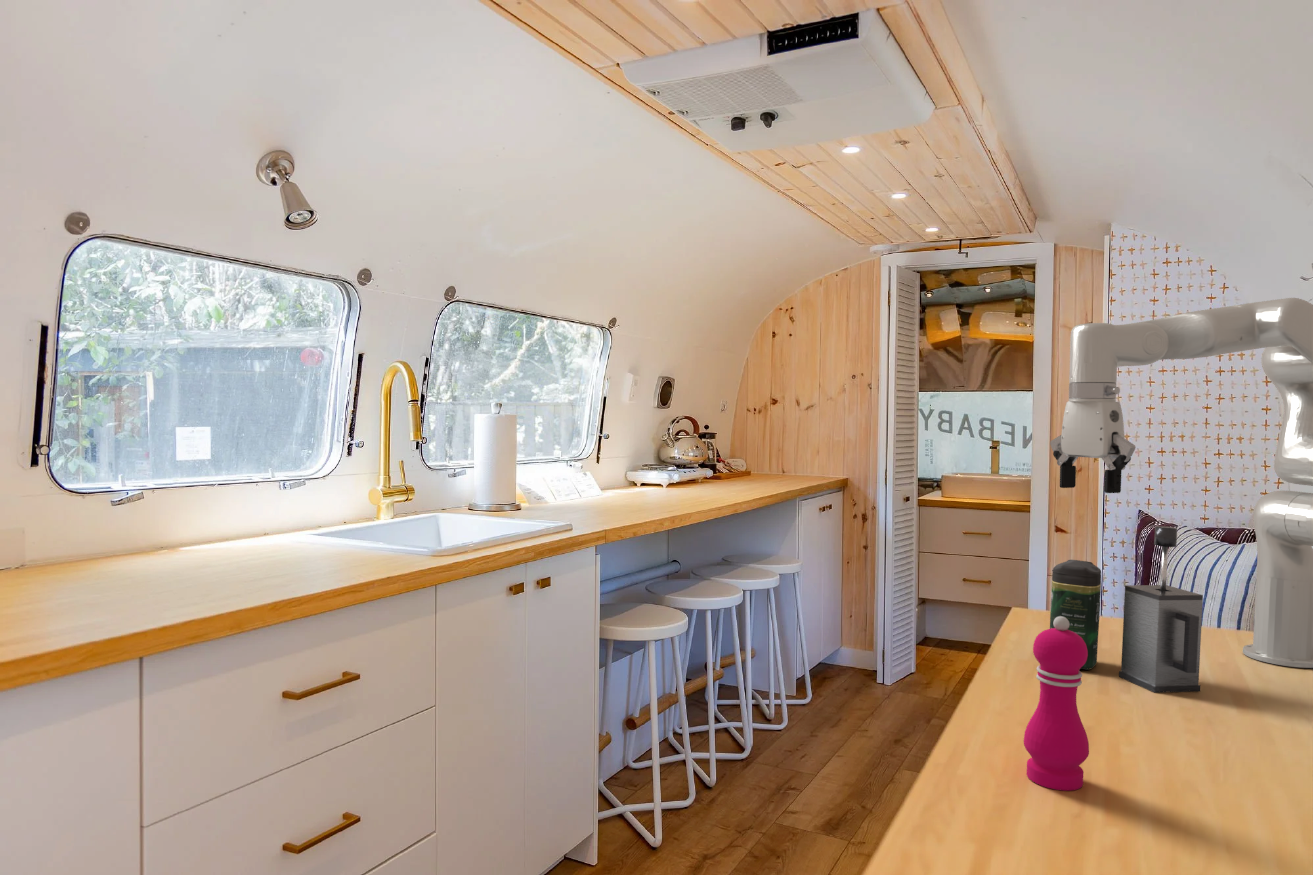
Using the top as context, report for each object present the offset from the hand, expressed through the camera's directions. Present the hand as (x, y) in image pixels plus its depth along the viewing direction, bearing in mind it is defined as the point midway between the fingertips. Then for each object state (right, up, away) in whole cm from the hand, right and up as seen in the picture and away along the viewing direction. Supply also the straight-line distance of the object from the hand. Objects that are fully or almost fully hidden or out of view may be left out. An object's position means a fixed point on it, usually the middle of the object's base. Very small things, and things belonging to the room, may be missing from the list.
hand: (1089, 490), depth 156 cm
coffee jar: (-2, -32, +2) cm, 32 cm away
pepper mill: (-29, -32, -49) cm, 66 cm away
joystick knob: (+8, -19, -9) cm, 23 cm away
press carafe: (+7, -32, -10) cm, 34 cm away
